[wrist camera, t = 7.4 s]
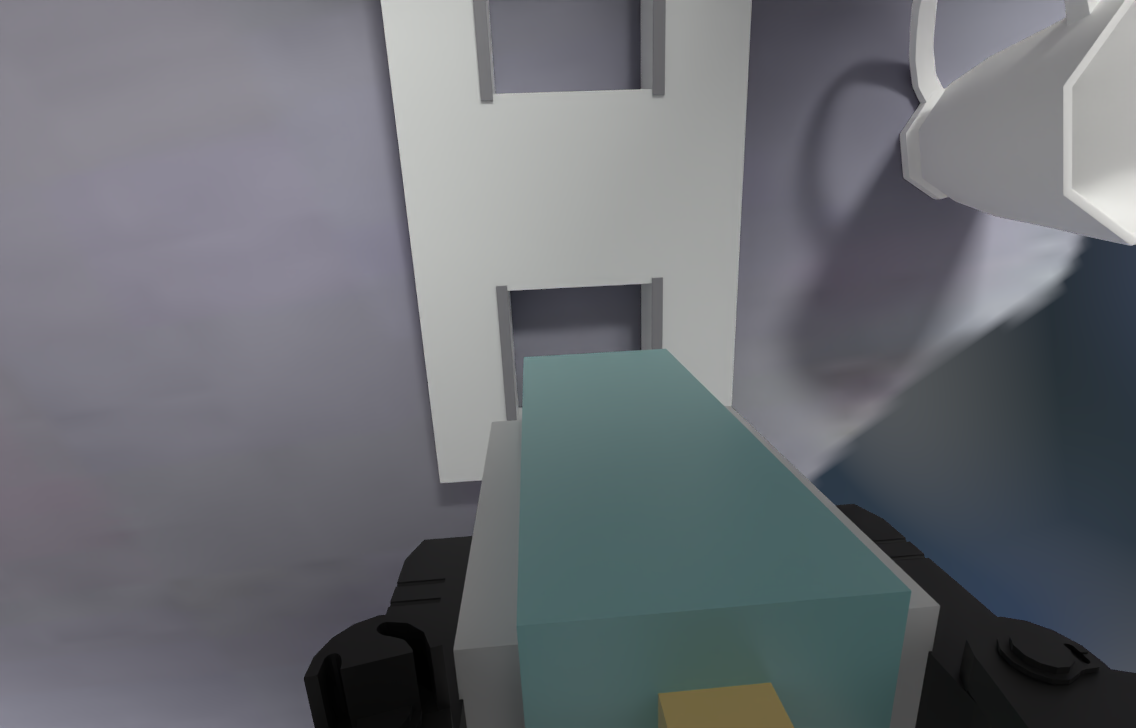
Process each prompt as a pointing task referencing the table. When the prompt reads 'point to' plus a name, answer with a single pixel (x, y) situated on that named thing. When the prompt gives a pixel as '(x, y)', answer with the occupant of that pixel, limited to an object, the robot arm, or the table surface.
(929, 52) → the cup
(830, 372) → the table surface
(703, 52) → the panel
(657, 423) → the plug
